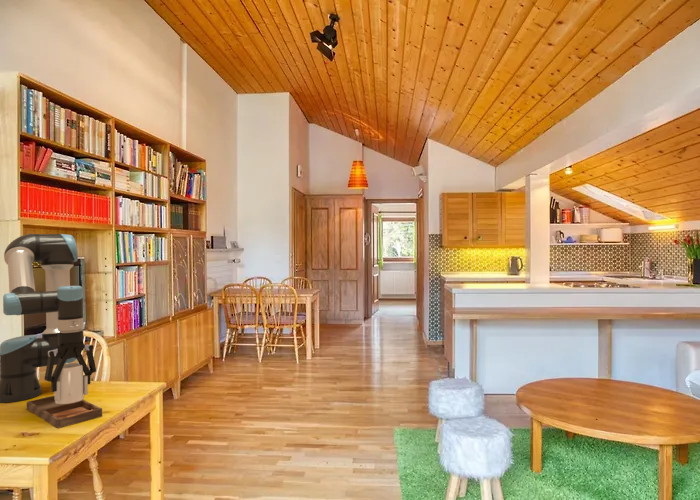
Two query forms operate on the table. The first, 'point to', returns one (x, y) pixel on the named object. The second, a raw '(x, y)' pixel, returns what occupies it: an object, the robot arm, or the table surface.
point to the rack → (63, 411)
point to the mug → (71, 383)
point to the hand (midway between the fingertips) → (71, 397)
